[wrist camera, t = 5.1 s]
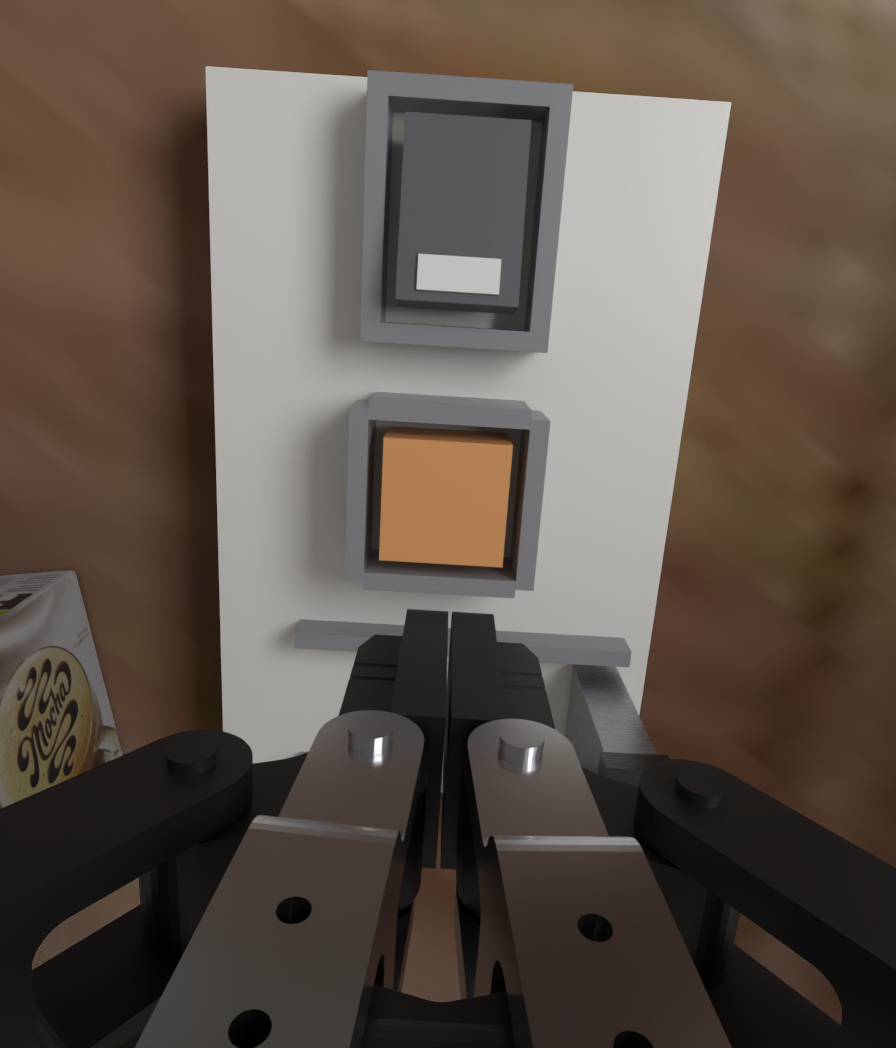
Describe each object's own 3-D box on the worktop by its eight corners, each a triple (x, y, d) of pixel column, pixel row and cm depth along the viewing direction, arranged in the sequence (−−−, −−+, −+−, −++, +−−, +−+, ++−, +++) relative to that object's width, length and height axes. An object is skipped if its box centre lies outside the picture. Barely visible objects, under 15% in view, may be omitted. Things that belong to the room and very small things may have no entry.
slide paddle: (622, 662, 27) (676, 771, 21) (607, 764, 29) (654, 898, 22) (568, 659, 27) (606, 768, 21) (556, 761, 29) (588, 895, 22)
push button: (507, 433, 25) (513, 445, 23) (497, 545, 26) (502, 567, 24) (389, 425, 25) (383, 437, 23) (385, 538, 26) (378, 560, 24)
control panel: (699, 126, 25) (764, 77, 20) (610, 758, 32) (642, 846, 27) (233, 94, 25) (175, 36, 20) (244, 738, 32) (204, 822, 27)
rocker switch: (526, 137, 22) (531, 118, 21) (514, 314, 23) (518, 306, 21) (407, 129, 22) (404, 109, 21) (397, 306, 23) (394, 298, 21)
